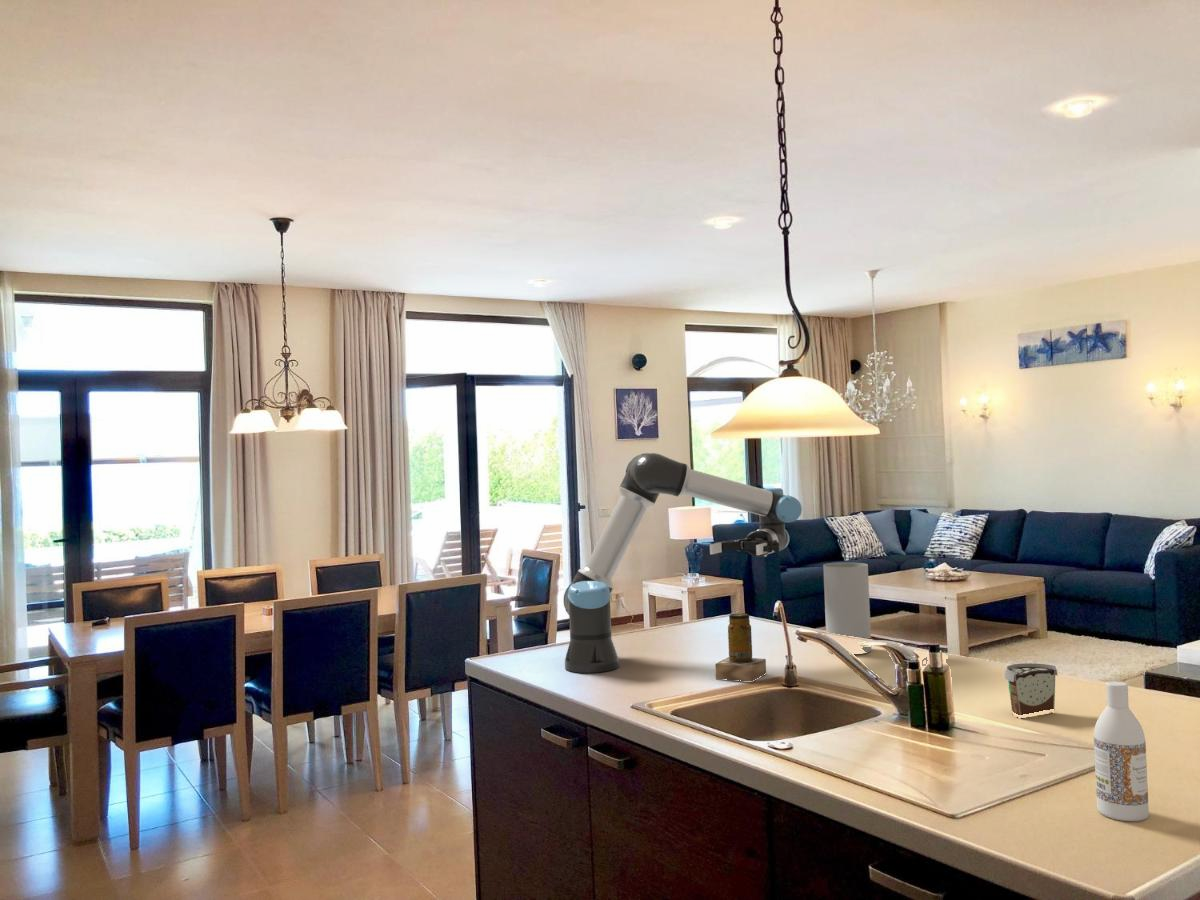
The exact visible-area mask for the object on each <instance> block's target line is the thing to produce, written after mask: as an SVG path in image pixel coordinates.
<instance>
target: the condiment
mask: <svg viewBox="0 0 1200 900" xmlns="http://www.w3.org/2000/svg"><path fill="white" fill-rule="evenodd" d="M728 618H729V619H728V622H729V624H728V626H727V640H728V657H729V658H730V659H726V658H724V659H722V660H723V661H728V662H734V663H735V662H737V663H741V664H752V663H756V662H757V663H758V662H760V661H763V660H762V659H763V658H759V659H756V658H755V657H753V645H752V644H753V643H752V642H753V641H752V640H753V639H752V638H753V637H752V625H751V623H750V615H749V614H748V613H745V612H744V613H741V612H737V613H736V612H735V613H730V614H729V616H728Z"/></svg>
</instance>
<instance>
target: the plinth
mask: <svg viewBox="0 0 1200 900" xmlns="http://www.w3.org/2000/svg"><path fill="white" fill-rule="evenodd" d="M725 659H730V658H729V656H728V657H726V658H725ZM756 659H760V658H759V657H757V658H756ZM761 659H762V660H763V661H760V662H758V663H757V662H756V663H752V664H741V663H737V662H735V663H734V662H728V661H723V660H724V659H722V660H720V661H718V662H716V663H715V665H714V667H715V679H716V680H718V679H727V680H726V681H729V680H739V681H738V682H740V680H741V681H753V680H755V679H757V678H759V677H760V676H762V675H764V674H765V673H766V674H767V660H766V658H761ZM764 676H765V675H764ZM759 679H760V678H759Z"/></svg>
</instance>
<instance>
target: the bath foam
mask: <svg viewBox="0 0 1200 900" xmlns="http://www.w3.org/2000/svg"><path fill="white" fill-rule="evenodd" d="M1105 687H1106V688H1105V689H1106V690H1105V691H1106V704H1107V705H1106V707H1105V708H1104V709H1103V711H1102V712H1101V714H1100V715H1099V717H1098V718H1097V721H1096V723H1095V726H1094V730H1093V748H1094V750H1093V751H1094V752H1093V753H1094V770H1095V771H1094V772H1095V773H1094V774H1095V790H1096V791H1095V792H1096V795H1095V796H1096V806H1097V807H1096V808H1097V811H1098V812H1099V813H1100V814H1101V815H1103V816H1105V817H1107V818H1109V819H1113V820H1116V821H1123V822H1141V821H1144V820H1146V819H1147V818H1148V817H1149V813H1150V812H1149V811H1150V808H1149V789H1148V788H1149V787H1148V786H1149V785H1148V765H1147V764H1148V763H1147V748H1146V747H1147V745H1146V744H1147V742H1146V736H1145V732H1144V729H1143V727H1142V725H1141V723H1140V721H1139V720H1138V719H1137V717H1136V716H1135V714H1134V713H1133V711H1132V710H1131V709H1130V706H1129V704H1130V703H1129V685H1128V684H1127V683H1126V682H1123V681H1115V680H1114V681H1107V682H1106V683H1105Z"/></svg>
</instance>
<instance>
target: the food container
mask: <svg viewBox="0 0 1200 900" xmlns="http://www.w3.org/2000/svg"><path fill="white" fill-rule="evenodd" d="M1056 676H1058V670H1057V668H1056V665H1053V664H1046V663H1034V662H1033V663H1032V662H1030V663H1029V662H1027V663H1026V662H1024V663H1022V662H1021V663H1015V664H1014V663H1013V664H1010V665H1007V666H1006V669H1004V676H1003V677H1004V679H1005V680H1007V683H1008V690H1009V698H1010V704H1011V712H1012V711H1013V712H1014V713H1016V714H1018V715H1023V714H1029V713H1034V712H1039V711H1043V710H1050V709H1054V710H1055V704H1056V702H1055V699H1056V698H1055V697H1056Z"/></svg>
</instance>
